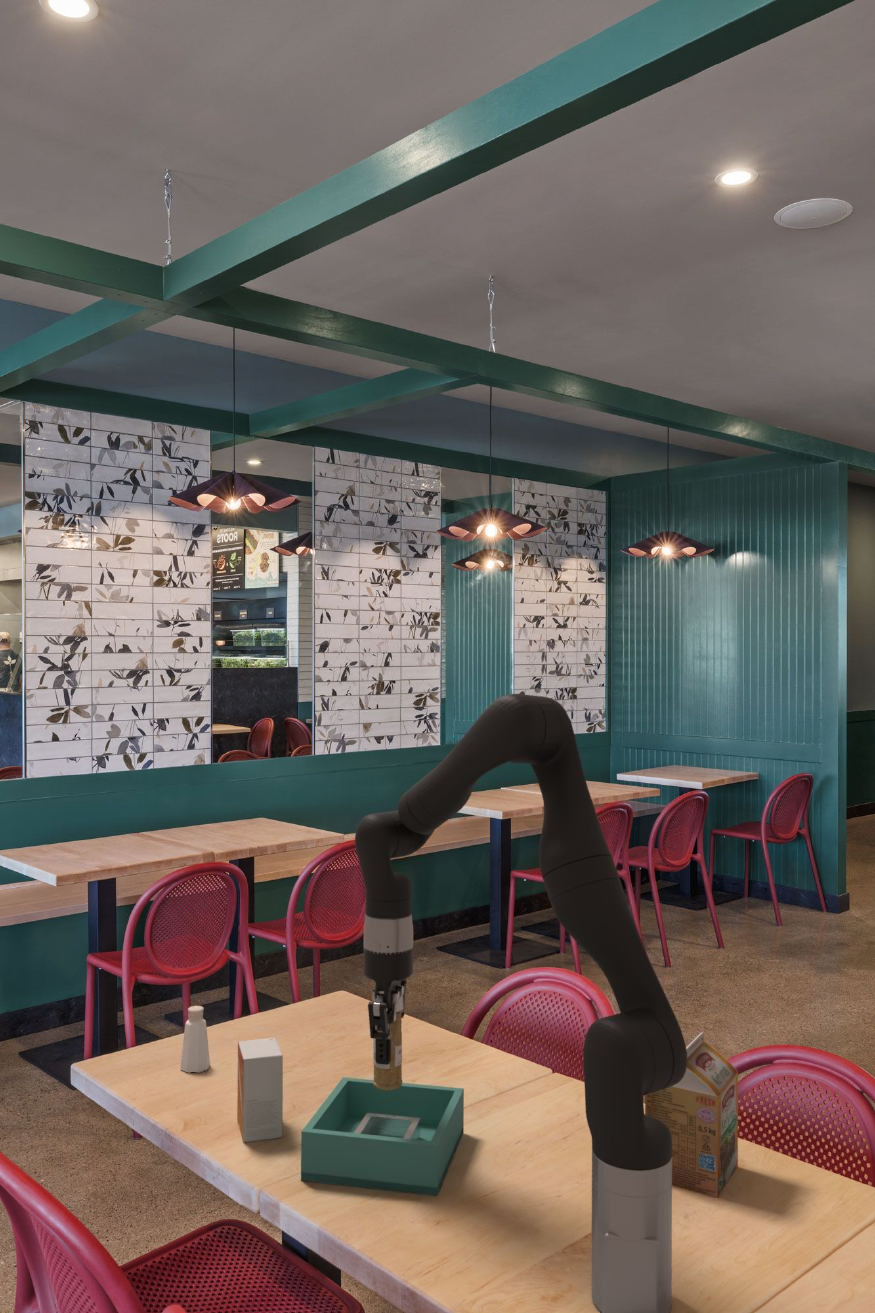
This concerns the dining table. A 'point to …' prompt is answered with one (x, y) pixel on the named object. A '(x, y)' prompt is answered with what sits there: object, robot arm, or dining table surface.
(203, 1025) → the salt shaker
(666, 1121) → the milk carton
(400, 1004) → the sprinkles bottle
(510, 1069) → the dining table surface
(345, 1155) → the walled box
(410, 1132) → the socket collar
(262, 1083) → the small box
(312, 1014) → the dining table surface
